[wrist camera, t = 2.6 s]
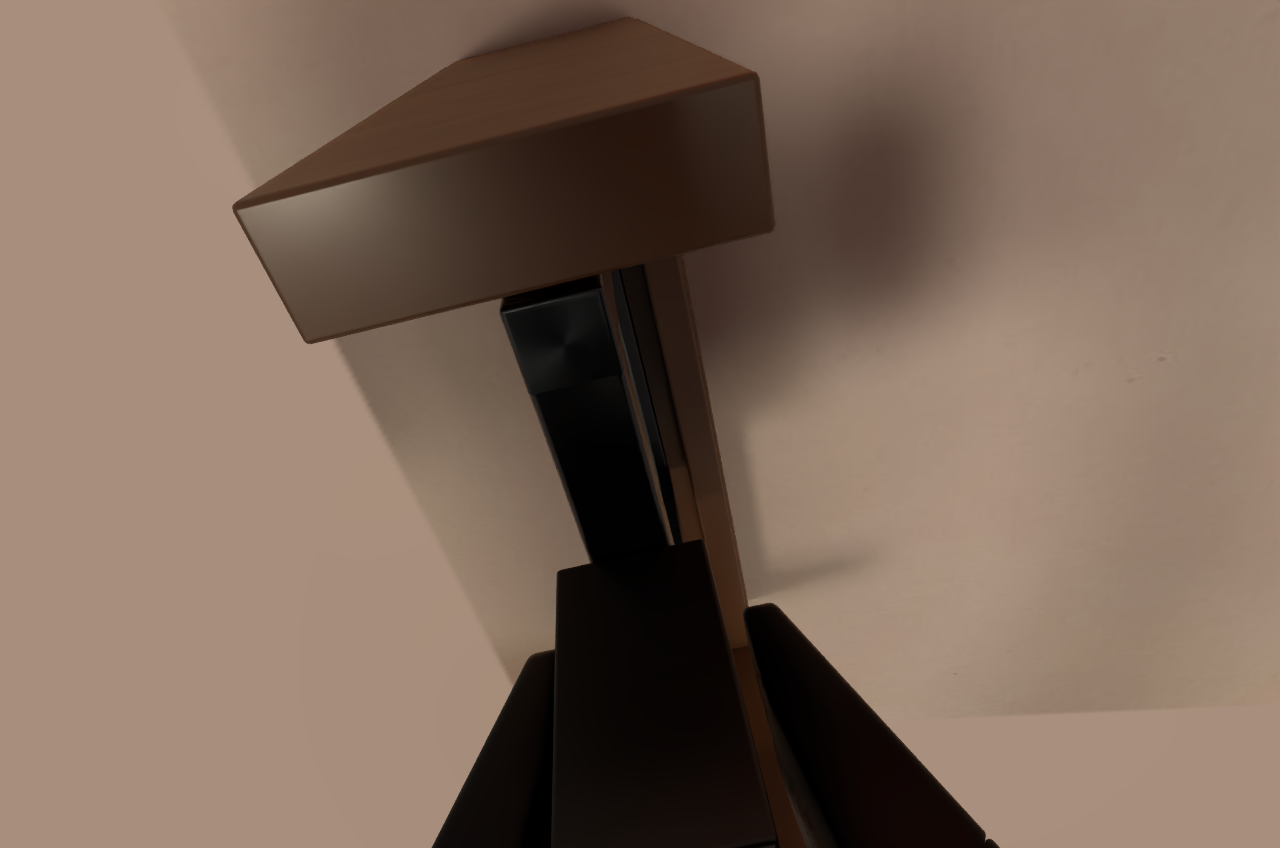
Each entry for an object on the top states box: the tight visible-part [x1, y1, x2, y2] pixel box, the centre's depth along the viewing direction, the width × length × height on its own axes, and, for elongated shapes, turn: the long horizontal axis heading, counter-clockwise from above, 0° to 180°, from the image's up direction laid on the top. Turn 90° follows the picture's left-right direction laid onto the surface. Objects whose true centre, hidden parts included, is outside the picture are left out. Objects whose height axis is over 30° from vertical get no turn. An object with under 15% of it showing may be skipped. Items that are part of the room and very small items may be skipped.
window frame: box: [233, 17, 807, 848], centre depth 15 cm, size 4×19×11 cm, turn 12°
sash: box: [500, 269, 780, 848], centre depth 11 cm, size 2×10×13 cm, turn 13°
